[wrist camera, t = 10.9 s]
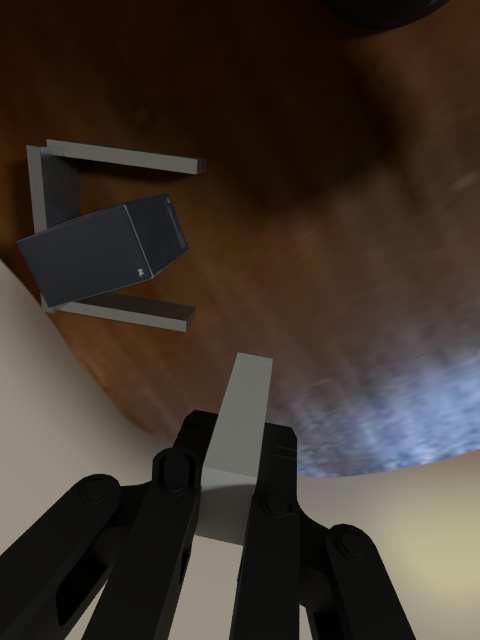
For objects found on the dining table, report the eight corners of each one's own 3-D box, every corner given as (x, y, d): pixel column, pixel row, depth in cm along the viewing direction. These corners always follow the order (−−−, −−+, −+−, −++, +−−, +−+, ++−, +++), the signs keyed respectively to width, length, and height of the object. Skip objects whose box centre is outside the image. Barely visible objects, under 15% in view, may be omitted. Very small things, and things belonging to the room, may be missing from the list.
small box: (168, 188, 38) (124, 199, 29) (191, 251, 40) (157, 281, 31) (78, 219, 41) (10, 239, 31) (104, 277, 43) (48, 312, 33)
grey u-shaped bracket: (65, 139, 38) (25, 137, 32) (207, 159, 36) (191, 159, 31) (74, 296, 44) (42, 316, 39) (195, 316, 43) (180, 340, 38)
